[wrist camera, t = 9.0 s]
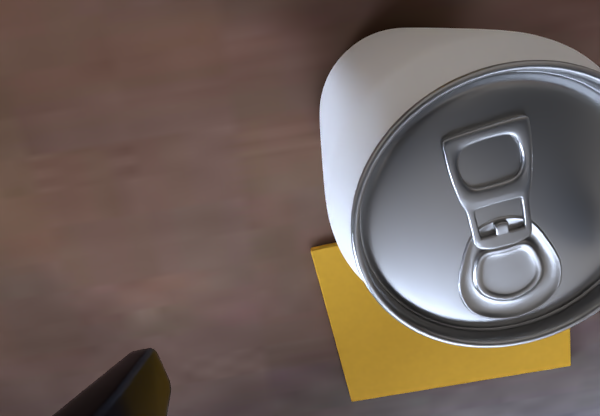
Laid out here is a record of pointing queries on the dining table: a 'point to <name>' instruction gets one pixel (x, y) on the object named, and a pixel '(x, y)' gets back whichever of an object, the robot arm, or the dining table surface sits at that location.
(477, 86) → the can
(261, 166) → the dining table surface
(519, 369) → the cloth
